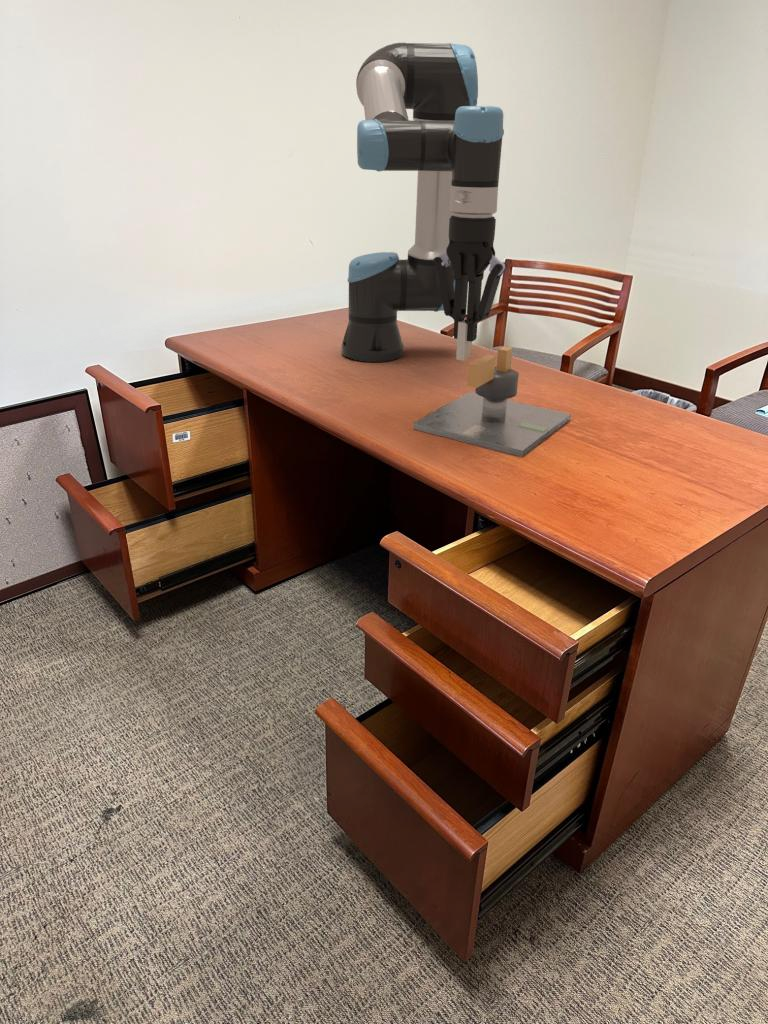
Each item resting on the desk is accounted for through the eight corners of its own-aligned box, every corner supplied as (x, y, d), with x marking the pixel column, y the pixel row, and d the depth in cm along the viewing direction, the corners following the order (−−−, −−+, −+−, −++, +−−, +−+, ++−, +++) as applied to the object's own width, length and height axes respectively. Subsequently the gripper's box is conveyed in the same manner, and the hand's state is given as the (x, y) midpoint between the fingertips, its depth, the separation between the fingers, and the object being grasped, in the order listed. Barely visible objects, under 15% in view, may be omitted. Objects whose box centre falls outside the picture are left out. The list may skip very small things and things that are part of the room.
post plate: (469, 397, 152) (471, 369, 150) (570, 419, 142) (574, 390, 139) (413, 428, 136) (414, 398, 133) (521, 457, 126) (525, 424, 123)
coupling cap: (486, 383, 141) (490, 343, 137) (523, 391, 137) (527, 350, 133) (451, 402, 131) (453, 360, 127) (489, 411, 127) (493, 368, 123)
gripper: (426, 213, 119) (420, 356, 130) (498, 219, 113) (486, 369, 124) (449, 210, 125) (442, 348, 136) (519, 215, 118) (506, 359, 129)
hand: (463, 358), depth 130 cm, fingers closed
